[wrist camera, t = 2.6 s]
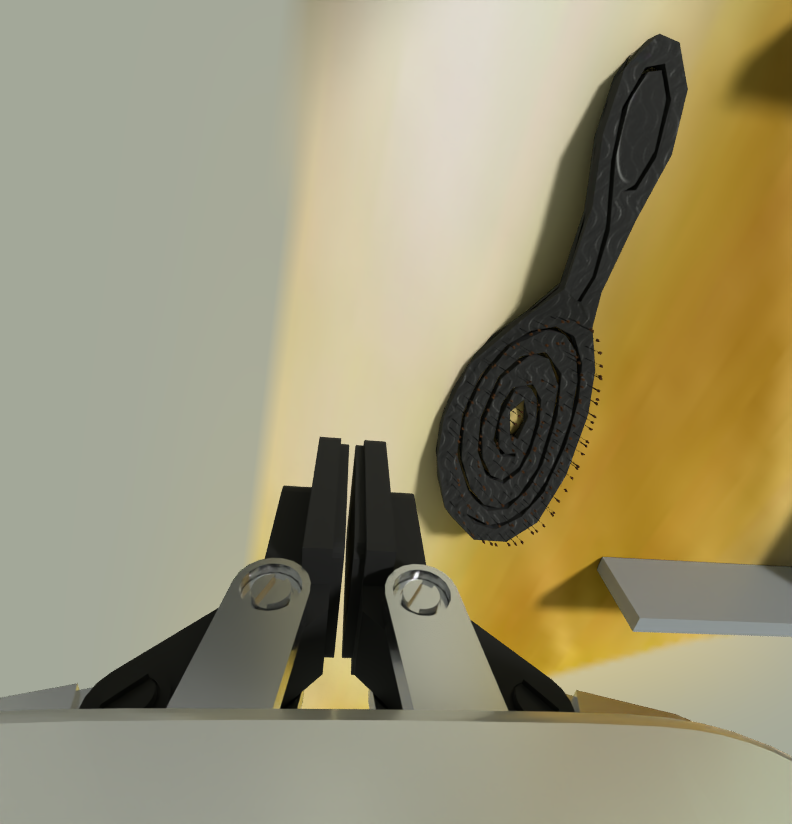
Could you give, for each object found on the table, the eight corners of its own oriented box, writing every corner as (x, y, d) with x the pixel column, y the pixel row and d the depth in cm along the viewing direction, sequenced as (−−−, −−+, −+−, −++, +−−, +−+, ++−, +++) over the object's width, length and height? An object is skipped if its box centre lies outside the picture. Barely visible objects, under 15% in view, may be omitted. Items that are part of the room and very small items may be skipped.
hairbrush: (797, 54, 18) (556, 562, 28) (728, 76, 21) (535, 522, 31) (598, -18, 16) (420, 542, 26) (558, 19, 20) (413, 503, 30)
